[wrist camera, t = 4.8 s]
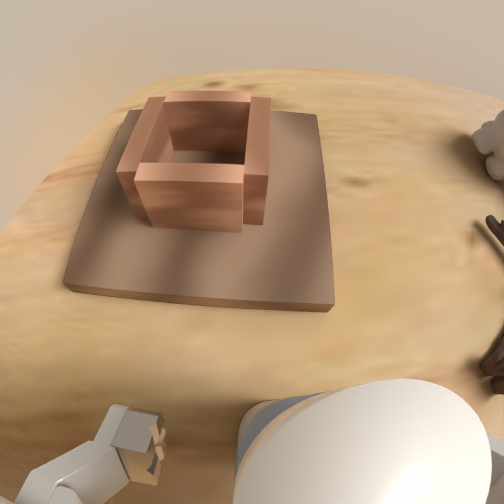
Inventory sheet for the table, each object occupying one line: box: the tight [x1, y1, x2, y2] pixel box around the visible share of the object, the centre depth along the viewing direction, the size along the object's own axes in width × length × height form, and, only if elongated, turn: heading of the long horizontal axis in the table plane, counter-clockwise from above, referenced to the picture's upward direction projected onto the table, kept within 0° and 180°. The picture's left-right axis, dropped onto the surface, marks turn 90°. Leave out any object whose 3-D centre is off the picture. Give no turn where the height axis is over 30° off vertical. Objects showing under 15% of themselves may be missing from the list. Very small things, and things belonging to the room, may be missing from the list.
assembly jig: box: [63, 91, 335, 312], centre depth 19 cm, size 16×16×6 cm
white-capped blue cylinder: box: [233, 379, 492, 504], centre depth 9 cm, size 4×4×14 cm
